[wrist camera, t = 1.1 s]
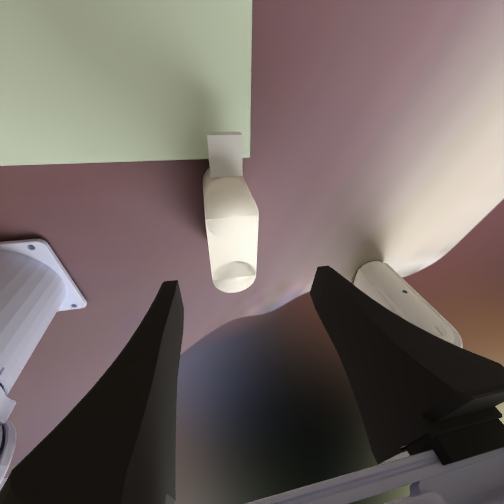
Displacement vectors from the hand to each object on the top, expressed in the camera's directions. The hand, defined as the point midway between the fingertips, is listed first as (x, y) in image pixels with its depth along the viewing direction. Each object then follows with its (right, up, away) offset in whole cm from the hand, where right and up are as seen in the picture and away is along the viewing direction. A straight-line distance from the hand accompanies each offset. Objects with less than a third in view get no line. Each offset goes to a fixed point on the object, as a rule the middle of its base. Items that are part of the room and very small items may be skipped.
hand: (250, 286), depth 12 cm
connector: (-2, +6, +7) cm, 10 cm away
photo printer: (+15, -3, +19) cm, 24 cm away
